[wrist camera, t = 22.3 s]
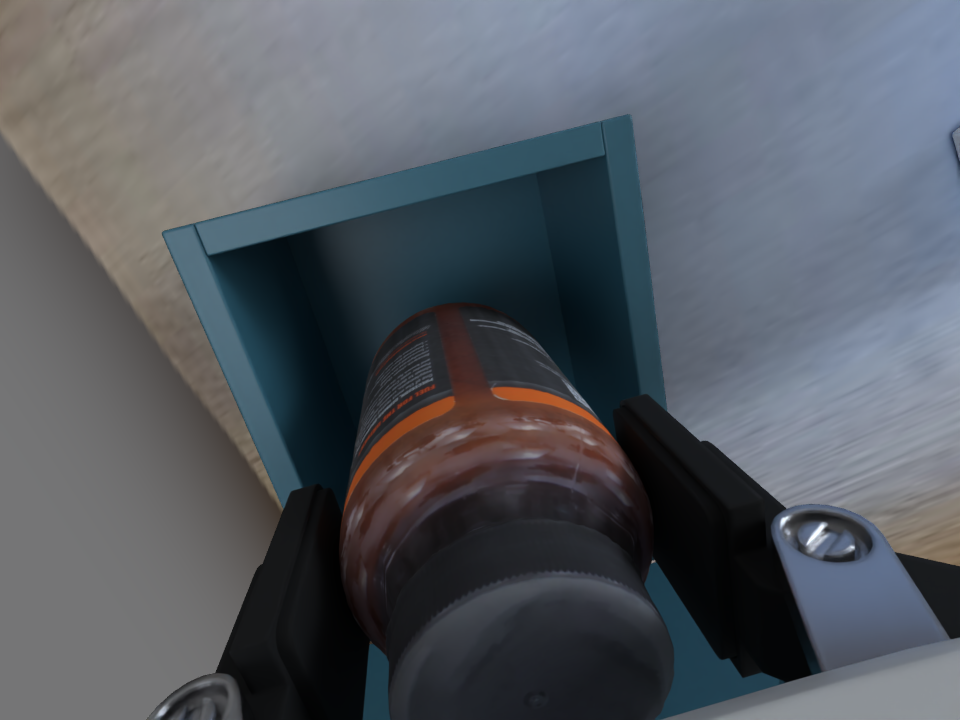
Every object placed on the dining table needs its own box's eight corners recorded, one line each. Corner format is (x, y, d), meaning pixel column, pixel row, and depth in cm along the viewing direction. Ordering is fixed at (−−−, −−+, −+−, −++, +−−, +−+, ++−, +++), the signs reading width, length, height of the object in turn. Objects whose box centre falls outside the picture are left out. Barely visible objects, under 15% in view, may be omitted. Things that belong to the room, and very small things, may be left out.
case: (260, 210, 20) (158, 232, 12) (544, 139, 21) (633, 112, 13) (366, 495, 25) (344, 650, 17) (596, 432, 26) (685, 552, 17)
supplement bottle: (349, 443, 18) (257, 839, 7) (393, 274, 16) (359, 461, 5) (514, 477, 19) (645, 857, 8) (570, 324, 17) (823, 555, 7)
